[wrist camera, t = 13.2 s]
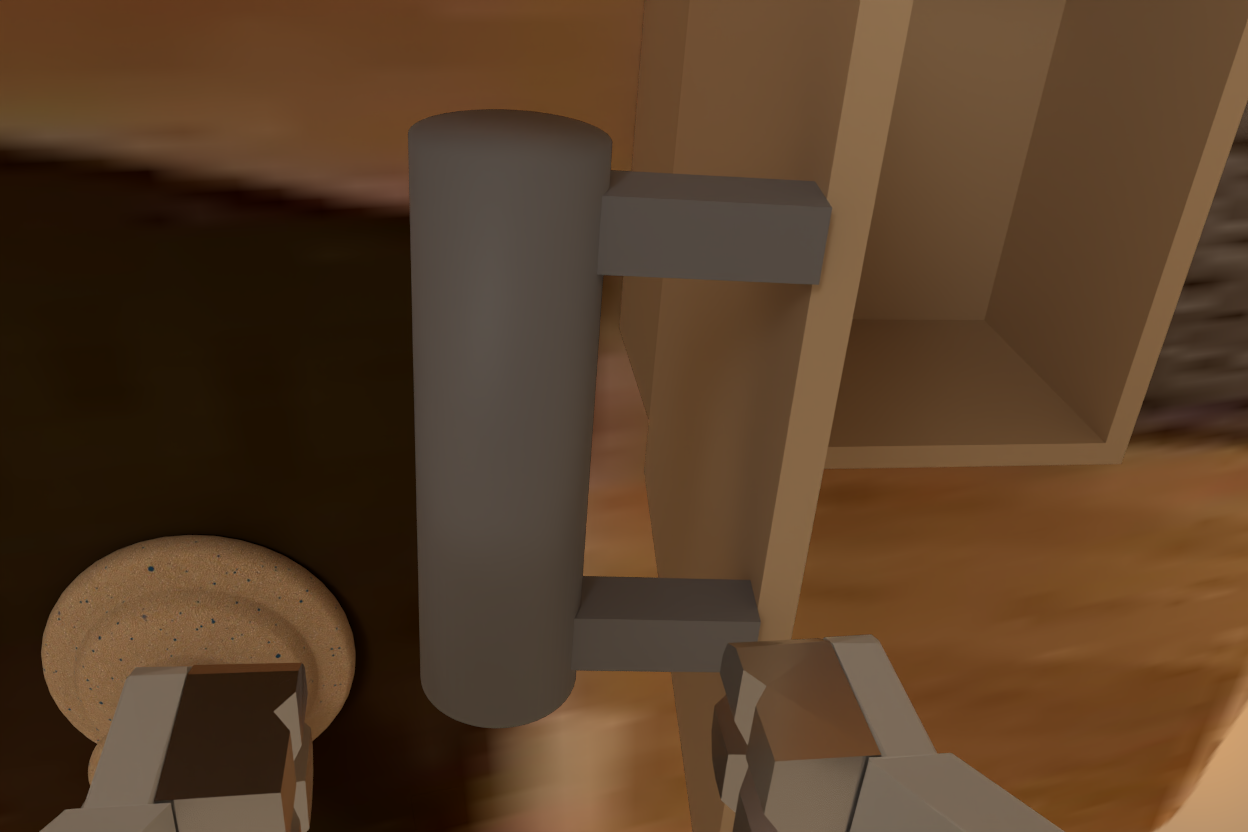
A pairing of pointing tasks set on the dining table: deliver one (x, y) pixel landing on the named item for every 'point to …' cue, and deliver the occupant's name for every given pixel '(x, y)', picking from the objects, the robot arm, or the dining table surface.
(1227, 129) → the carton
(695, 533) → the cardboard box lid
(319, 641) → the candle holder
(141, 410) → the dining table surface
